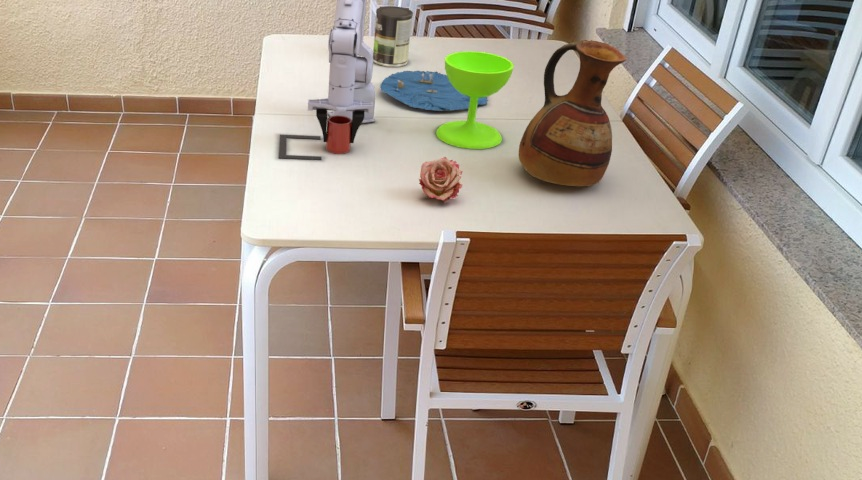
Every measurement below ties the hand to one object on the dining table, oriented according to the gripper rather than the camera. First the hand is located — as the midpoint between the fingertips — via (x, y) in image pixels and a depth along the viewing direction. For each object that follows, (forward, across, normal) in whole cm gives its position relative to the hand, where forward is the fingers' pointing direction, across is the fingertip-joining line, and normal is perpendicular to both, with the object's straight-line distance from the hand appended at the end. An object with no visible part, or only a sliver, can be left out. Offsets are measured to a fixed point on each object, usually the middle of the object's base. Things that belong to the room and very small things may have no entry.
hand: (338, 141), depth 222 cm
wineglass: (+2, +32, +11) cm, 34 cm away
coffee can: (+2, +17, +66) cm, 68 cm away
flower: (+2, +20, -24) cm, 32 cm away
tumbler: (+2, 0, 0) cm, 2 cm away
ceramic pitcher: (+2, +50, -11) cm, 51 cm away
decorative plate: (+2, +26, +40) cm, 48 cm away
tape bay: (+2, -9, 0) cm, 9 cm away
